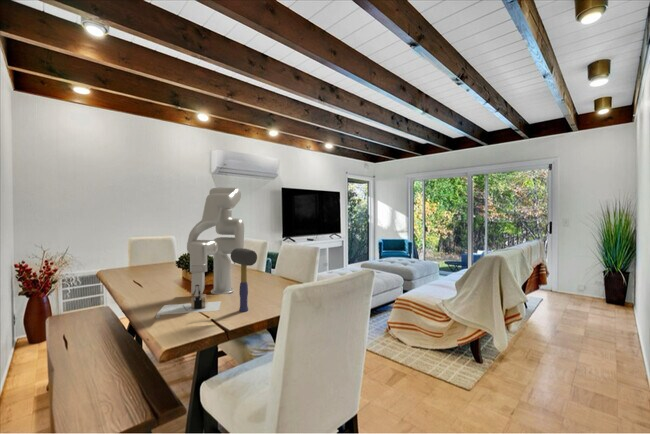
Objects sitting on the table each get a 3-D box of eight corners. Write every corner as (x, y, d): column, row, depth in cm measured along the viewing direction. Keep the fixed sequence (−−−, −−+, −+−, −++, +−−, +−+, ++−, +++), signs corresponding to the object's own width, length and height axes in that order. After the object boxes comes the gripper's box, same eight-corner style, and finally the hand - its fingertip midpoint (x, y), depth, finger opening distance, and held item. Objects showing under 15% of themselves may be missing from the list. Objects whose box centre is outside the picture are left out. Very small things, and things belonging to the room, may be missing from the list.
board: (164, 308, 145) (164, 305, 145) (221, 304, 152) (221, 301, 152) (156, 318, 132) (156, 315, 132) (218, 313, 138) (218, 310, 138)
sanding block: (192, 305, 144) (192, 294, 144) (206, 304, 146) (206, 294, 146) (191, 308, 139) (191, 297, 139) (205, 307, 141) (205, 297, 141)
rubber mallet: (258, 314, 137) (258, 249, 136) (244, 319, 131) (244, 250, 131) (243, 308, 145) (243, 246, 144) (229, 312, 140) (229, 248, 139)
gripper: (192, 265, 149) (193, 301, 150) (186, 272, 133) (187, 313, 133) (209, 264, 151) (209, 300, 152) (205, 271, 135) (205, 311, 135)
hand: (198, 306), depth 143 cm, fingers closed on sanding block, 5 cm apart
